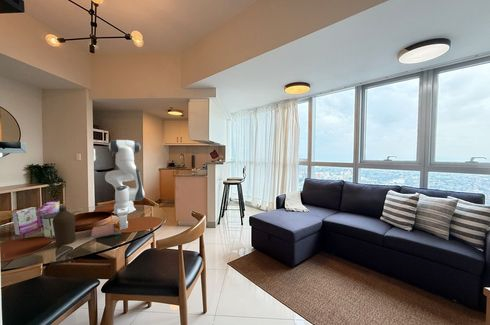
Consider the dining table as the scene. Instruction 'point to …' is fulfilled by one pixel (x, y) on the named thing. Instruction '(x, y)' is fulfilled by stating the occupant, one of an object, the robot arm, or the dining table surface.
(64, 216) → the olive oil
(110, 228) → the pink block
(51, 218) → the tissue box
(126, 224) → the stub
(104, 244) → the dining table surface
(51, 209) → the gum box
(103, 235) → the mat
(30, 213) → the candy bar box
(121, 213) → the robot arm
